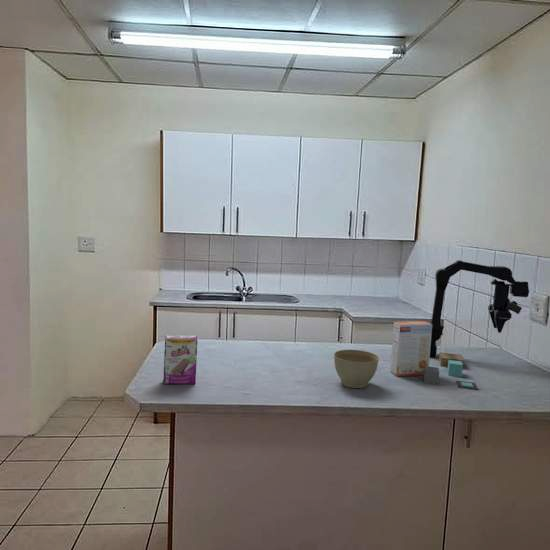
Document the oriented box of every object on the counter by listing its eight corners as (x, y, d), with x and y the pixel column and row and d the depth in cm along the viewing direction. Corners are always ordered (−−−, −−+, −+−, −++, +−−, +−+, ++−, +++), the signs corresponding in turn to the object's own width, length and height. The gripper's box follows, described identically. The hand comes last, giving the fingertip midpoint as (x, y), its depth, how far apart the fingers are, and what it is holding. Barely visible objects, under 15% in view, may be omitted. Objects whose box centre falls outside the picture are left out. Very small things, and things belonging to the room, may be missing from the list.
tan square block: (440, 366, 212) (441, 357, 211) (438, 361, 220) (439, 352, 220) (462, 369, 209) (463, 360, 209) (460, 363, 218) (461, 354, 218)
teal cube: (448, 375, 199) (449, 363, 199) (447, 371, 204) (448, 360, 204) (461, 377, 198) (462, 364, 198) (460, 373, 203) (461, 361, 202)
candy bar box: (163, 385, 171) (164, 338, 169) (163, 380, 176) (164, 335, 174) (196, 384, 173) (197, 338, 171) (195, 379, 178) (196, 334, 176)
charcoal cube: (424, 382, 189) (425, 369, 188) (423, 378, 194) (424, 366, 193) (438, 384, 188) (439, 371, 187) (437, 380, 193) (438, 367, 192)
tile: (458, 387, 185) (458, 386, 185) (455, 381, 192) (455, 380, 192) (478, 389, 184) (478, 388, 184) (475, 383, 191) (475, 382, 191)
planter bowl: (340, 374, 193) (342, 346, 192) (381, 382, 186) (384, 354, 185) (325, 385, 179) (327, 356, 178) (368, 395, 172) (371, 365, 171)
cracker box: (420, 371, 203) (425, 320, 200) (428, 375, 197) (433, 324, 195) (389, 371, 200) (393, 320, 197) (396, 376, 194) (400, 324, 191)
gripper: (526, 300, 206) (522, 337, 208) (516, 293, 224) (512, 327, 226) (497, 298, 209) (493, 334, 211) (489, 291, 227) (486, 325, 229)
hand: (497, 330), depth 219 cm, fingers open, 9 cm apart
